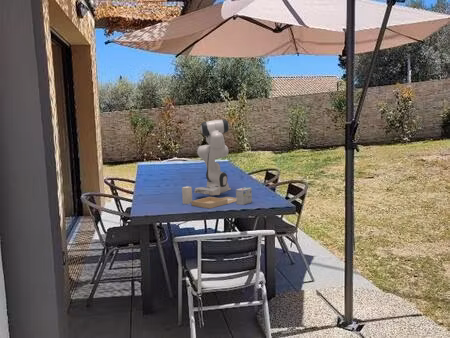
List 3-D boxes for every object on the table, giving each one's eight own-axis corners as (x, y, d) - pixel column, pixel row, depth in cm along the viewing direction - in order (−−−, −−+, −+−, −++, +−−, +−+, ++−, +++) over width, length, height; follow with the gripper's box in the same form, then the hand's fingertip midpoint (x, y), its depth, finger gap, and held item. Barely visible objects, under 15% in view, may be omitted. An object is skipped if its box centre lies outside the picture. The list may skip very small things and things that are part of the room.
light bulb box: (245, 201, 330) (244, 187, 328) (252, 202, 326) (252, 187, 324) (236, 204, 322) (235, 189, 320) (243, 205, 317) (243, 190, 316)
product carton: (187, 202, 334) (187, 186, 333) (192, 203, 331) (191, 187, 329) (182, 203, 330) (181, 187, 329) (187, 204, 327) (186, 188, 326)
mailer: (227, 197, 348) (226, 192, 348) (244, 199, 336) (244, 195, 336) (191, 205, 321) (191, 200, 321) (209, 208, 309) (209, 203, 309)
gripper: (202, 184, 355) (189, 187, 345) (221, 186, 341) (208, 189, 331) (202, 192, 356) (189, 195, 346) (221, 195, 342) (208, 198, 332)
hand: (199, 192), depth 339 cm, fingers open, 8 cm apart
